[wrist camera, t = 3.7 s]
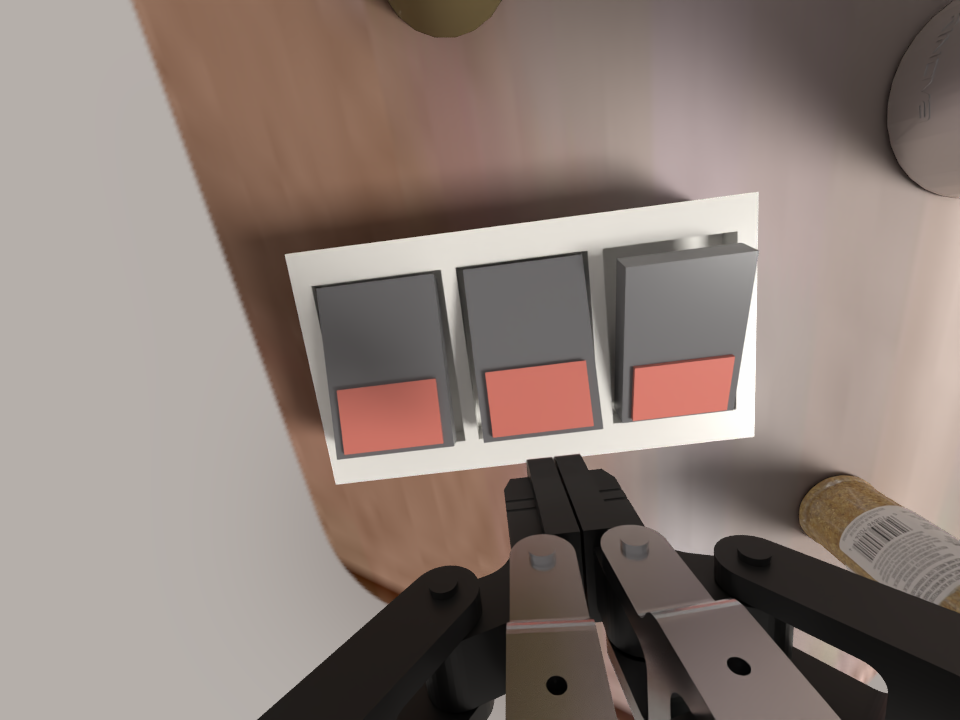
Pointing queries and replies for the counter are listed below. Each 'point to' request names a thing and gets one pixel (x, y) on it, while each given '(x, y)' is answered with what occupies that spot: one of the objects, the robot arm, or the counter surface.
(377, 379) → the switch
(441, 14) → the cork
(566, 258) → the switch middle
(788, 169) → the counter surface
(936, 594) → the sprinkles bottle
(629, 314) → the switch
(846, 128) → the counter surface
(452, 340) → the white switch panel
